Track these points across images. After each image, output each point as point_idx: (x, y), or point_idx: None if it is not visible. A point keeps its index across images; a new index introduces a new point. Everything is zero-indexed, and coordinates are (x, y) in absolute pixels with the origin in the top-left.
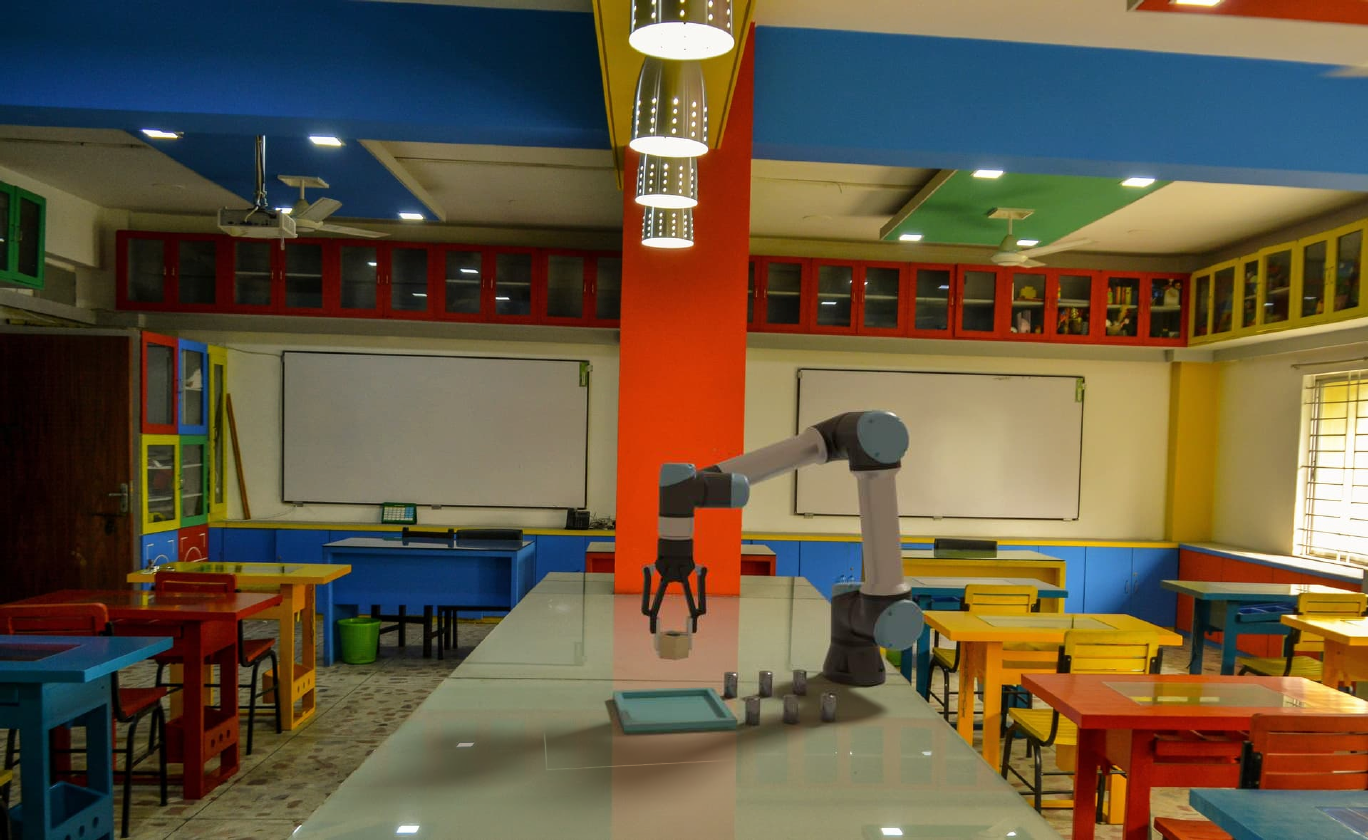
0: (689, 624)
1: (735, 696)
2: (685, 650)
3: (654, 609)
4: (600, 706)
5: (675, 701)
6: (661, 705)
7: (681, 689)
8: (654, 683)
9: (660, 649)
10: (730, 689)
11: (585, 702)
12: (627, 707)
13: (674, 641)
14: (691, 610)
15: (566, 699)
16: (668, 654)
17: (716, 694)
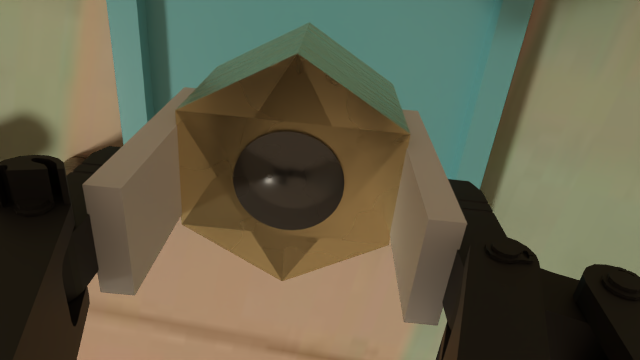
0: (137, 161)
1: (66, 160)
2: (228, 68)
3: (528, 300)
4: (516, 178)
5: None
6: None
7: None
8: (292, 328)
9: (395, 96)
10: (71, 171)
11: (545, 221)
12: (455, 118)
13: (311, 53)
14: (46, 242)
15: (587, 256)
16: (348, 56)
17: (128, 135)
